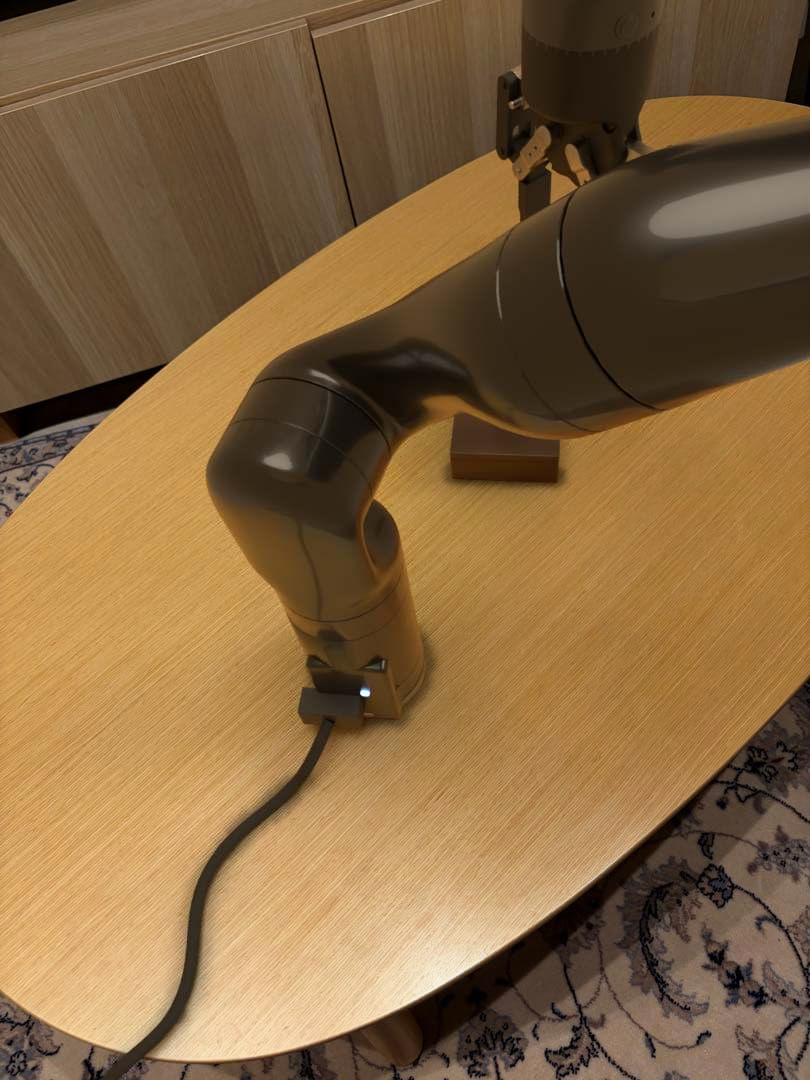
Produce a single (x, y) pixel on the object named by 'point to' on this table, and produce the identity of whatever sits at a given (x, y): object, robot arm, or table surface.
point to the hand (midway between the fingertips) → (573, 250)
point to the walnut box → (500, 453)
